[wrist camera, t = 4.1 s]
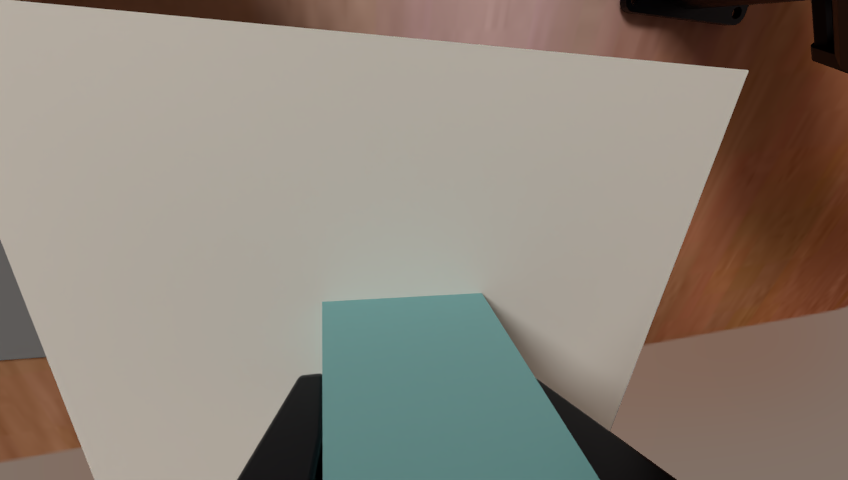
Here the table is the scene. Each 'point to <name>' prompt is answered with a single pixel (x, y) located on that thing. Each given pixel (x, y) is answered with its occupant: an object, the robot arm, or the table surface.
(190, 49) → the lid
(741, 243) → the table surface
